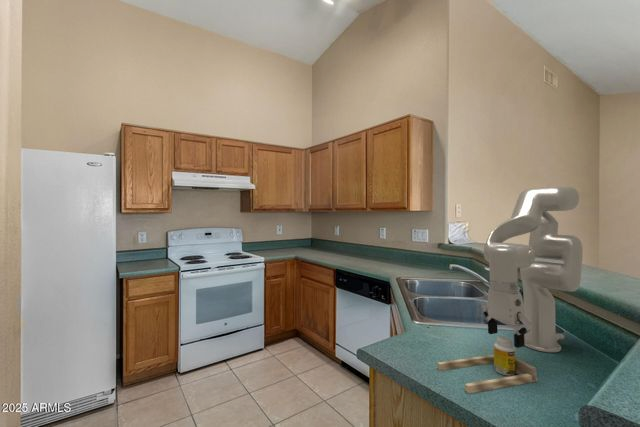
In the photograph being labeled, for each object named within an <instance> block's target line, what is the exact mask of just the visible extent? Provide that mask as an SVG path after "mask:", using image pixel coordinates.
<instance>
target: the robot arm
mask: <svg viewBox="0 0 640 427" xmlns="http://www.w3.org/2000/svg"><path fill="white" fill-rule="evenodd" d="M579 202H580V193H579V192H578V190H577V189H576V188H575V187H573V186H550V187H549V186H548V187H533V188H528V189H524V190H522V191H521V193H519V195H518V198H517V200H516V202H515V206H514V208H513V211H512V213H511V216H510V218H508V219H507V220H505V221H503V222H502V223H500V224H499V225H497V226H495V228H493V229H492V230H491V231H490V233H489V234H488V237H487V239H486V241H485V244H484V248H483V258H484V260H485V261H486V262H487V263H489V264H488V266H489V268H488V269H489V287H488V294H487V302H486V303H485V304H482V305H481V308H482V311H483V315H484V316H485V320H486V322H487V334H489V335H495V334H498V322H500V323H502V324H504V325H507V326H510V327H512V329H513V331H514V334H513V347H514V348H515V349H518V348H519V349H520V348H523V347H526V348H528V349H532V350H534V351H538V352H544V353H559V352H561V351H562V346H561V345H560V343H558V341H560V340H565V335H564V334H563V333H556V300H555V297H554V296H553V294H552V292H550V291H549V289H552V290H559V291H562V292H576V291H578V289H579V288H580V285H581V280H582V268H583V253H584V251H583V249H584V248H583V244H582V241H581V239H580V238H579V237H577V236H574V235H569V234H568V235H567V234H558V232H559V223H558V220H556V218H555V217H554V216H553V215H552V214H551V213H550V212H564V211H565V212H566V211H571V210H574V209H575V208H577V207H578V205H579ZM526 234H529V239H528V245H527V244H523V243H522V244H521V243H510V242H505V241H507V240H509V239H512V238H514V237H519V236H521V235H526ZM536 259H542V260H552V261H562V262H564V263H560V262H559V263H558V262H550V261H541V260H540V261H539V260H536ZM518 268H519V272H518ZM519 274H520V278H521V285H522V290H523V291H522V292H523V296H522V293H521V292H520V290H521V287H520V286H519Z"/></svg>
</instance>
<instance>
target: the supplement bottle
mask: <svg viewBox="0 0 640 427" xmlns="http://www.w3.org/2000/svg"><path fill="white" fill-rule="evenodd" d="M493 355H494V363H493V368H494V370H495V372H497V373H498V374H499V375H503V376H505V377H509V376H515V374H516V373H515V357H516V347H515V346H514V345H513V341H512V339H510V338H508V337H505V336H497V337H496V342H495V343H494V344H493Z"/></svg>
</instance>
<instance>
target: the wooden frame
mask: <svg viewBox="0 0 640 427" xmlns="http://www.w3.org/2000/svg"><path fill="white" fill-rule="evenodd" d="M488 364H494V354H488V355H482V356H475V357H474V356H473V357H467V358H461V359H454V360H453V359H452V360H445V361H440V362H437V366H436V368H437V370H438V371H439V372H442V371H447V370H452V369H453V370H454V369H461V368H468V367H474V366H475V367H476V366H480V365H488ZM515 374H517V375H515ZM515 374H514V375H512V376H505V377H504V376H503V377H499V378H492V379H487V380H485V379H484V380H481V381H475V382H469V383H465V384H464V392H466V393H467V394H475V393H479V392H480V393H481V392H485V391H491V390H492V391H493V390H496V389H503V388H508V387H514V386H519V385H525V384H530V383H536V382H538V374H537V367H536V366H533V365H531V364H529V363H527V362H525V361H524V360H522V359H520V358H518V357H516V356H515Z"/></svg>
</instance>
